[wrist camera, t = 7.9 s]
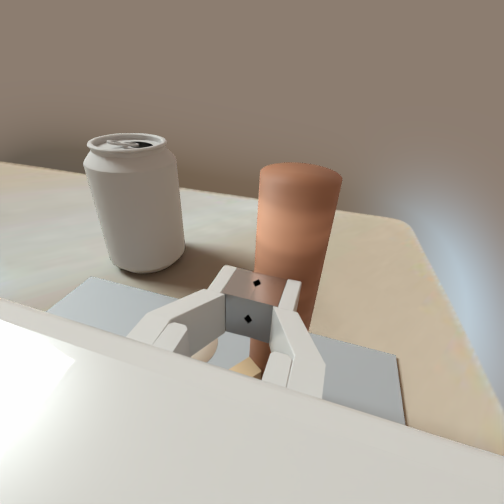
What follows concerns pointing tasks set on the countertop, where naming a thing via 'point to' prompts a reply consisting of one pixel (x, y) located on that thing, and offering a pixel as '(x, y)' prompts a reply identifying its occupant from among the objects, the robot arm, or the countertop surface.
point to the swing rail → (292, 237)
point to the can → (136, 200)
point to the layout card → (247, 347)
